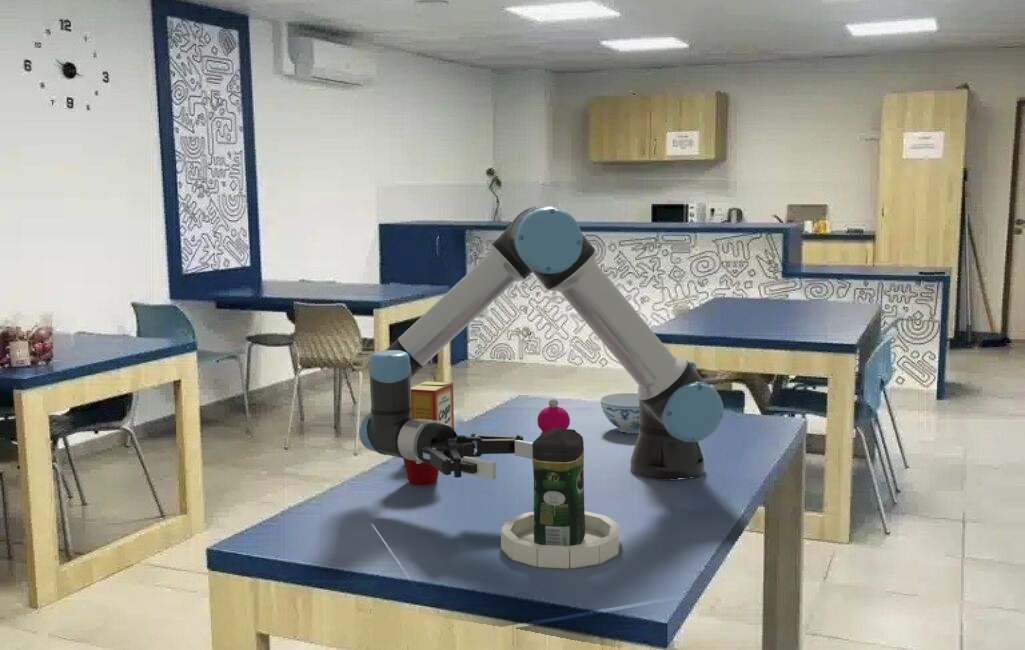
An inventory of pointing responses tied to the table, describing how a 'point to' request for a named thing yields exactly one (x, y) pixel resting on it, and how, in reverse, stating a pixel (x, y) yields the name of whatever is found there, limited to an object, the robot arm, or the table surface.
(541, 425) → the pepper mill
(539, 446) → the coffee jar
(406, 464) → the plastic cup
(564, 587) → the table surface
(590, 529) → the bowl
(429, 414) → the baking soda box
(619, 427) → the chinaware
